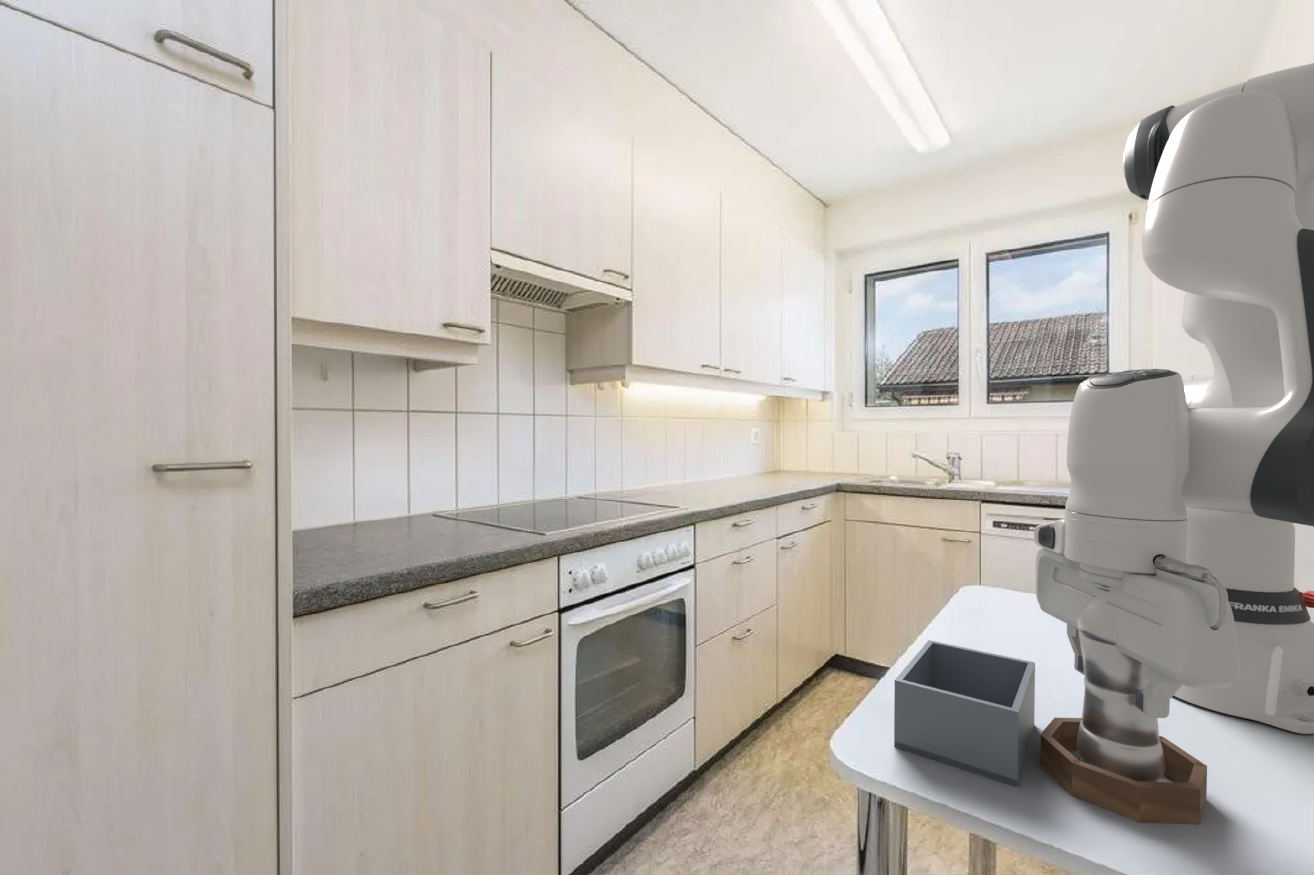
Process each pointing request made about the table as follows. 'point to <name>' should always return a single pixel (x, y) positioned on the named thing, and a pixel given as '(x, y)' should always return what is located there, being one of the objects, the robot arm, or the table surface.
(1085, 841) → the table surface
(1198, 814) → the collar
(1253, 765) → the table surface
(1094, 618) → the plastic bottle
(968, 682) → the bin
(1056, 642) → the table surface
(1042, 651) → the table surface
